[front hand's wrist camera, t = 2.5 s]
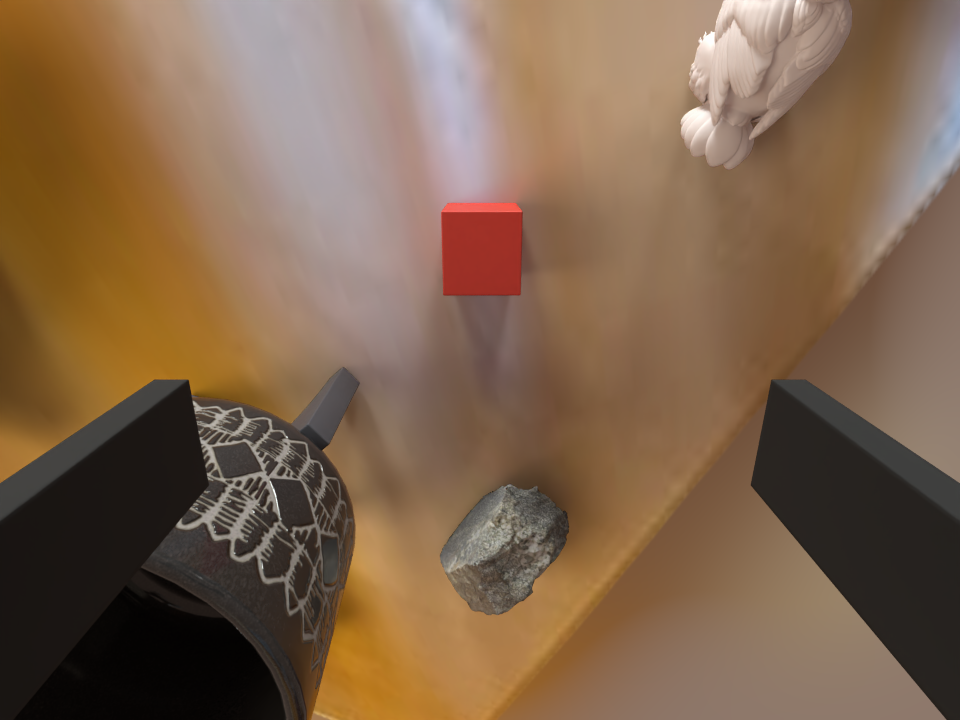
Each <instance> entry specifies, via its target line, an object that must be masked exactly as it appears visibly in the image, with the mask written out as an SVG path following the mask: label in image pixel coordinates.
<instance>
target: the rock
mask: <svg viewBox="0 0 960 720" xmlns="http://www.w3.org/2000/svg"><path fill="white" fill-rule="evenodd" d="M506 488H508V490H506ZM567 518H568V517H567V513H566V511H563V512H562V510H561V509H560V508H558V507H556V504H555V503H554V502H552V501H551V500H550V498H548V497H547V496H546V495H544V494H542V493H540V492H539V491H538V487H536V486H535V487H533V488H532V489H528V490H523V489H518V488H517V487H514V485H512V484H508V485H506V487H504V486H501V487H500V488H499V489H498V490H496V491H494V492H493V491H492V493H491V492H490V493H488V495H485V496H483V499H481V500H480V501H479V502H478V503H477V505H476V506H475V507H474V508H473V509H472V510H471V511H470V513H468V515H467V516H466V517H465V518H464V520H463V522H461V524H460V525H459V527H458V528H457V529H456V530H455V531H454V532H453V533H454V534H452V536H451V537H450V538H449V540H448V542H447V544H445V546H444V547H443V549H442V552H441V554H440V560H441V563H442V566H443V567H444V570H445V573H446V575H447V576H448V579H449V580H450V581H451V583H452V585H453V587H454V588H455V590H456V591H457V592H458V594H459V595H460V596H461V597H462V598H463V599H464V600H465V601H467V603H468V605H469V607H470V608H471V609H472V610H473V611H481V612H484V613H485V614H487V615H491V614H496V615H499V614H502V613H504V612H507V611H509V610H510V609H511V608H512V607H513V606H514V605H516V604H517V603H519V602H520V601H524V600H525V599H526V598H527V597H528V596H529V595H530V594H532V593H533V591H532V586H533V583H534V580H535V579H536V578H538V577H539V576H540V575H541V574H542V573H543V572H544V571H545V570H546V569H547V567H548V566H549V565H550V564H551V563H552V562H554V560H555V559H556V558H557V557H558V555H559V554H560V552H561V550H562V549H563V547H564V545H565V543H566V540H567V539H566V535H567V534H568V532H569V529H568V528H569V526H568V519H567ZM475 563H476V565H474V564H475Z"/></svg>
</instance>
